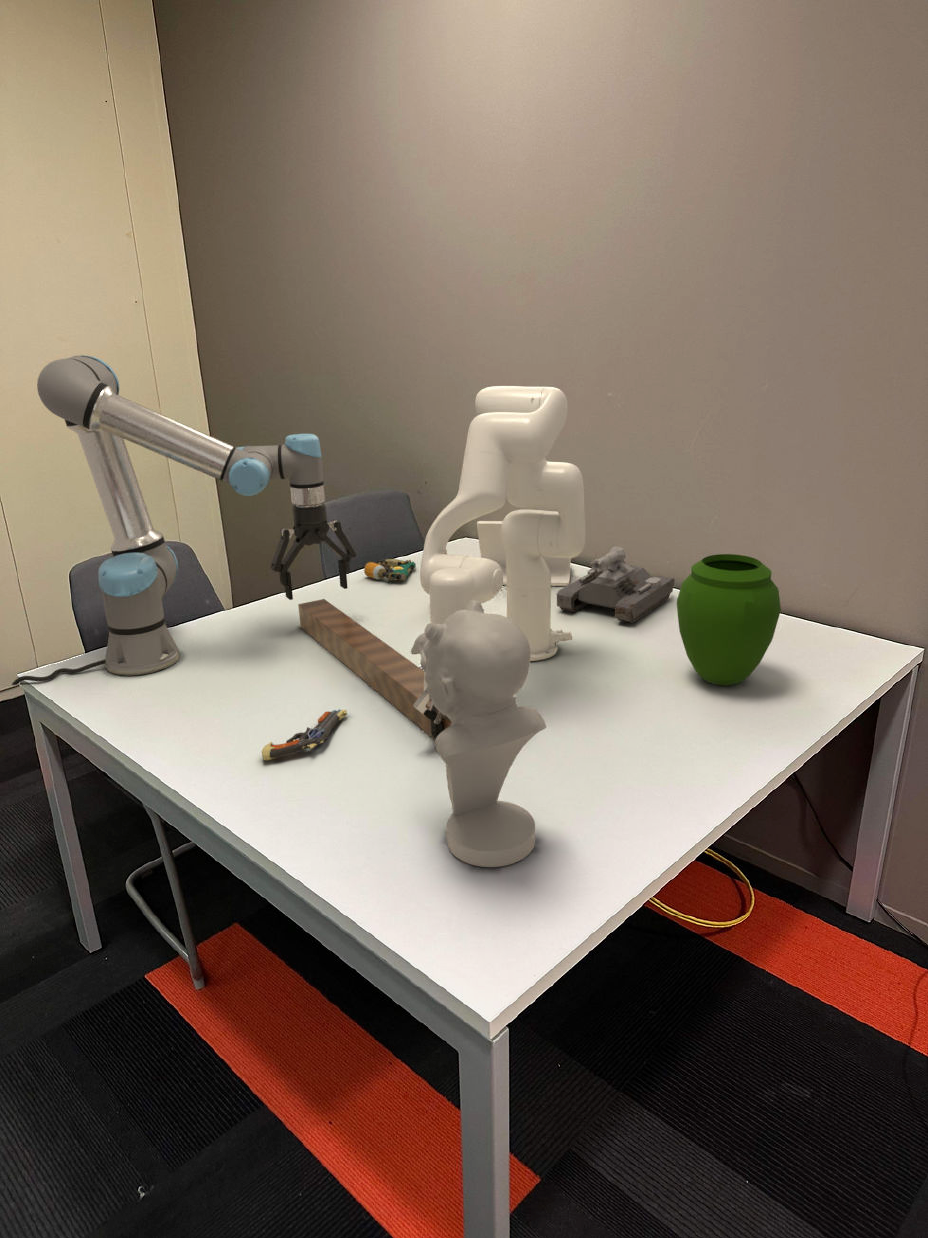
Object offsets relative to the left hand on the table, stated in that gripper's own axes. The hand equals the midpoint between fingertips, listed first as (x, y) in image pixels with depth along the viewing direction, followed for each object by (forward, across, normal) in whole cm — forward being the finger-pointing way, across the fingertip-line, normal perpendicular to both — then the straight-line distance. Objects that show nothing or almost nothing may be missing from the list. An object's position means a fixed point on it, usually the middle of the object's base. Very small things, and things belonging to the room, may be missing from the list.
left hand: (317, 592), depth 201 cm
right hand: (+8, 0, +65) cm, 66 cm away
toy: (+9, -68, +27) cm, 74 cm away
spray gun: (+9, -34, -29) cm, 45 cm away
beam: (+9, 0, +33) cm, 34 cm away
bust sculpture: (+9, +12, +90) cm, 92 cm away
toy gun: (+9, +22, +50) cm, 55 cm away
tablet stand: (+9, -64, -6) cm, 65 cm away
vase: (+9, -57, +72) cm, 93 cm away
